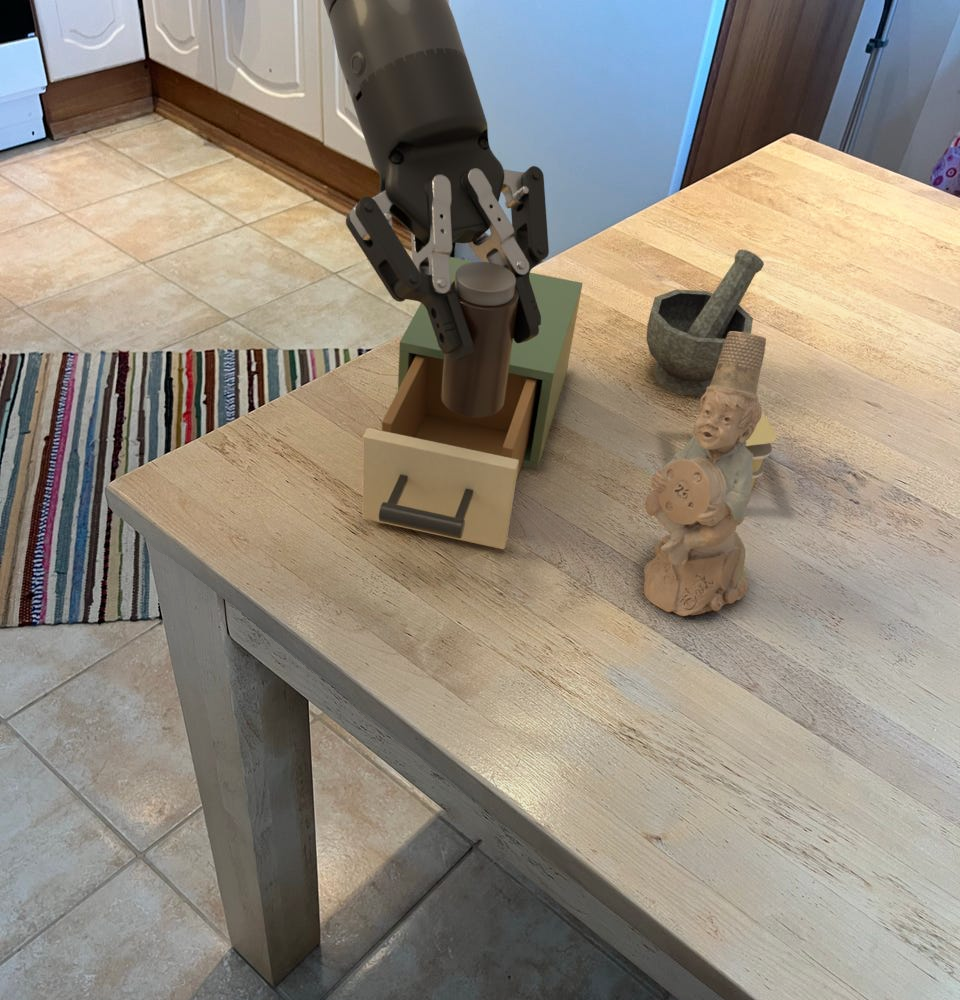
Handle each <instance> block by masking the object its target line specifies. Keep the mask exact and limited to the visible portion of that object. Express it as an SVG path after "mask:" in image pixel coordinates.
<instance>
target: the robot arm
mask: <svg viewBox="0 0 960 1000" xmlns="http://www.w3.org/2000/svg"><path fill="white" fill-rule="evenodd" d="M322 2H323V5H324V7H325V10H326V13H327V16H328V19H329V23H330V26H331V30H332V34H333V35H332V36H333V39H334V45H335V49H336V55H337V58H338V59H337V60H338V62H339V66H340V69H341V72H342V75H343V78H344V80H345V85H346V87H347V90H348V93H349V97H350V98H351V102H352V105H353V108H354V111H355V114H356V117H357V120H358V123H359V127H360V128H361V132H362V136H363V138H364V141H365V144H366V146H367V151H368V154H369V156H370V159H371V162H372V165H373V168H374V169H375V170H376V172H378V175H379V190H378V193H377V194H376V195H374V196H372V197H370V196H363V197H362V198H361V199H360V200H359V201H358V202H357V203H356V204H355V205H354V206H353V208H352V209H350V212H349V213H348V214H347V216H346V218H345V225H346V227H347V229H348V231H349V232H350V233H351V235H352V236H353V239H354V240H355V241H356V243H357V244H358V246H359V248H360V249H361V251H362V252H363V254H364V256H365V257H366V258H367V260H368V262H369V263H370V265H371V267H372V268H373V270H374V272H375V273H376V274H377V276H378V278H379V279H380V281H381V282H382V284H383V286H384V287H385V289H386V290H387V292H388V294H389V295H390V296H391V298H392V299H393V300H394V301H395V302H400V303H402V302H404V301H406V300H408V301H415V302H419V303H420V304H421V303H422V304H423V305H424V306H425V307H426V309H427V312H428V315H429V318H430V321H431V324H432V327H433V330H434V333H435V336H436V338H437V342H438V345H439V347H440V349H441V350H442V351H443V353H444V354H447V353H448V354H449V357H450V359H451V360H452V361H457V360H461V359H464V358H466V357H467V356H469V355H471V354H472V353H473V352H474V345H473V342H472V338H471V335H470V332H469V329H468V326H467V323H466V320H465V317H464V314H463V311H462V308H461V305H460V302H459V299H458V295H457V293H453V294H451V293H450V288H451V278H450V257H451V254H452V252H453V243H454V244H455V243H456V244H468V246H469V247H470V249H471V251H472V252H473V254H474V255H475V257H476V258H477V259H479V260H482V261H483V262H488V263H494V264H498V265H500V266H503V267H505V268H507V269H509V270H510V271H511V272H512V273H513V274H514V276H515V278H516V285H515V288H516V289H517V291H518V294H519V298H518V305H517V313H516V320H515V327H514V335H513V339H514V341H515V342H516V343H522V342H526V341H528V340H530V339H532V338H534V337H535V336H537V335H538V333H539V327H538V326H539V325H541V315H540V312H539V308H538V305H537V302H536V299H535V296H534V293H533V289H532V286H531V283H530V280H529V273H531V271H532V270H533V269H534V268H535V267H536V266H537V265H538V264H540V263H541V262H542V261H544V260H545V259H547V258H548V256H549V254H550V253H549V252H550V249H549V248H550V247H549V235H548V218H547V205H546V191H545V190H546V189H545V177H544V173H543V171H542V169H541V168H540V167H538V166H536V165H532V166H530V167H529V168H527V169H526V171H524V172H521V171H515V170H510V169H504V167H503V165H502V162H501V161H500V160H499V159H498V158H497V157H496V155H495V154H494V152H493V151H492V149H491V147H490V142H489V129H488V121H487V118H486V115H485V112H484V111H485V110H484V108H483V105H482V102H481V98H480V96H479V93H478V88H477V86H476V83H475V79H474V75H473V73H472V70H471V67H470V64H469V60H468V57H467V55H466V51H465V49H464V48H465V47H464V45H463V42H462V39H461V35H460V32H459V29H458V26H457V22H456V20H455V16H454V14H453V12H452V9H451V7H450V5H449V2H448V0H322ZM501 195H503V196H504V199H505V202H504V205H505V208H507V209H510V213H511V214H510V216H511V221H510V219H509V218H508V216H507V214H506V213H505V210H504V209H503V208H502V206H501V204H500V203H499V201H500V197H501ZM392 217H394V219H396V220H397V221H398V222H399V223H400V224H401V225H402V226H403V227H404V228H406V229H407V230H408V231H409V232H410V241H411V243H410V244H411V256H410V255H409V253H408V251H407V250H406V248H405V246H404V245H403V243H402V242H401V240H400V238H399V237H398V235H397V233H396V231H395V230H394V228H393V224H394V221H393V218H392ZM489 230H490V231H489ZM488 231H489V232H490V235H488V234H487V233H486V232H488Z"/></svg>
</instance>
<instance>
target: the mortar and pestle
mask: <svg viewBox="0 0 960 1000" xmlns="http://www.w3.org/2000/svg"><path fill="white" fill-rule="evenodd" d="M764 266H765V263H764V261H763V260H762V259H761V258H760V257H759V256H758V255H757V254H755V253H754V252H752V251H750V250H747V249H738V250H737V252H736V253H735V254H734V262H733V263H732V265H731V266H730V268H729V269H728V271H727V272H726V273H725V275H724V276H723V278H722V280H721V281H720V283H719V284H718V285H717V287H715V289H714V292H711V291H707V290H694V289H679V288H678V289H674V290H671V291H667V292H665V293H663V294H660V295H657V296H655V297H654V299H653V302H652V306H651V310H650V314H649V316H648V321H647V325H646V339H645V341H646V343H647V347H648V351H649V354H650V355H651V356H652V357H653V358H654V360H655V361H656V365H655V369H654V372H653V378H654V379H655V380H656V381H657V383H658V384H659V385H660V386H661V388H663V389H666V390H668V391H670V392H673V393H676V394H678V395H680V396H700V397H702V396H703V394H705V392H706V388H707V387H708V386H710V384H711V381H712V378H713V376H714V373H715V370H716V367H717V364H718V361H719V357H720V354H721V351H722V348H723V345H724V342H725V339H726V337H727V334H728V332H730V331H735V332H736V331H737V332H744V333H749V334H752V329H753V321H754V318H753V316H751V315H750V314H749V312H747V311H746V310H745V309H744V308H743V307H742V306H741V305H740V303H741V302H742V300H743V298H744V297H745V295H746V293H747V290H748V289H749V287H750V285H751V283H752V281H753V279H754V278H755V275H757V274H758V273H759V272H761V271H762V269H763V267H764Z"/></svg>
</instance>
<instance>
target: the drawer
mask: <svg viewBox="0 0 960 1000" xmlns="http://www.w3.org/2000/svg"><path fill="white" fill-rule="evenodd" d="M443 365H444V360H443V359H438V358H433V357H428V356H423V355H418V354H417V355H416V356H415V358H414V360H413V362H412V364H411V366H410V368H409V370H408V372H407V374H406V376H405V378H404V380H403V382H402V384H401V386H400V388H399V390H398V389H397V392H396V394H395V395H394V397H393V399H392V402H391V404H390V405H389V407H388V409H387V411H386V413H385V415H384V417H383V419H382V421H381V429H375V428H371V427H367V428H366V430H365V432H364V434H363V436H362V514H361V515H362V517H361V518H362V519H363V520H367V521H373V522H375V523H381V524H386V525H391V526H395V527H399V528H405V529H410V530H414V531H417V532H423V533H427V534H432V535H436V536H441V537H446V538H450V539H454V540H458V541H462V542H468V543H472V544H476V545H481V546H486V547H490V548H495V549H500V550H505V548H506V545H507V542H508V538H509V532H510V524H511V517H512V512H513V511H512V510H513V504H514V497H515V491H516V483H517V480H518V476H519V473H520V471H521V468H522V466H521V465H522V462H523V459H524V456H525V452H526V449H527V446H528V443H529V440H530V435H531V429H532V423H533V416H534V410H535V404H536V397H537V391H538V385H539V379H536V378H531V377H526V376H521V375H516V374H511V373H508V379H507V386H506V394H505V401H504V405H503V407H502V408H501V410H500V411H498V412H497V413H495V414H493V415H490V416H486V417H468V416H463V415H460V414H457V413H455V412H453V411H451V410H450V409H448V408H447V407H446V406H445V405H444V403H443V402H442V399H441V390H442V377H443Z"/></svg>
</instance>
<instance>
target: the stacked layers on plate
mask: <svg viewBox="0 0 960 1000" xmlns="http://www.w3.org/2000/svg"><path fill="white" fill-rule="evenodd" d="M761 410H762V415H761V419H760V420H759V422H758V423H757V425H756V428H755V430H754V432H753V433H752V435H751V436H750V438H749V439H748V440H746V448H747V449H748V450H749V451H750V452H751V453H753V465H752V466H753V477H752V485H751V490H752V489H753V488H754V485H755V482H756V479H757V478H759V477H761V476H762V475H763V474H764V470H765V464H764V463H763V461H764V459H765V458H768V457H769V456H770V455H771V453H772V450H773V447H772V443H773V442H774V441H775V440H776V439H777V432H776V431H775V429H774V427H773V425H772V424H771V422H770V420H769V419H768V417H767V415H766V414H765V412H764V410H763V409H761Z"/></svg>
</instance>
